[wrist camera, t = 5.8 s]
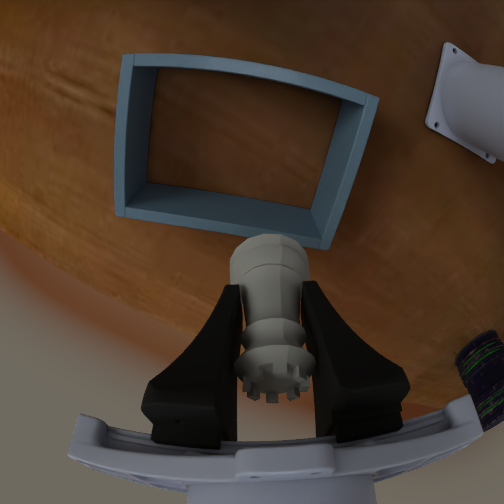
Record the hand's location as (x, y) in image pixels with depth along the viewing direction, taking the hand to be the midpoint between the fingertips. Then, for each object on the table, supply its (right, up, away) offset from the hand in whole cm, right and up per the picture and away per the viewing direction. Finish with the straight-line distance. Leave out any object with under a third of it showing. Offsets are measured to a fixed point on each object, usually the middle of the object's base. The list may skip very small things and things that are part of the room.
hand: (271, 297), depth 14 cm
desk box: (-2, +10, +5) cm, 12 cm away
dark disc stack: (+39, -15, +22) cm, 47 cm away
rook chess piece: (0, +2, +3) cm, 3 cm away
